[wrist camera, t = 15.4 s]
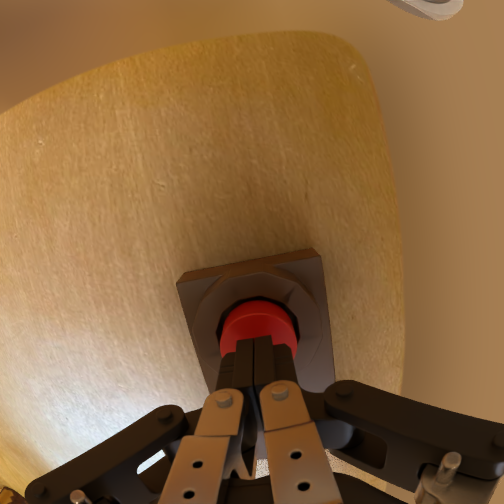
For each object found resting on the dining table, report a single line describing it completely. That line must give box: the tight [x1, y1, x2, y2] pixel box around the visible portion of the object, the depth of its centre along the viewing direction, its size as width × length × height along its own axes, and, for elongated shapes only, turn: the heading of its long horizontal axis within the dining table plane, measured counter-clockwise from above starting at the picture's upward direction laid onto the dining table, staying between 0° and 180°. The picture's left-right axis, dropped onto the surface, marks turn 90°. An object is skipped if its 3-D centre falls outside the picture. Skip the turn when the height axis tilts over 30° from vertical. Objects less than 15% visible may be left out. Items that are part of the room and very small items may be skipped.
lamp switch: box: [220, 300, 297, 359], centre depth 15 cm, size 4×4×2 cm
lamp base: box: [176, 248, 336, 460], centre depth 18 cm, size 15×8×4 cm, turn 11°
